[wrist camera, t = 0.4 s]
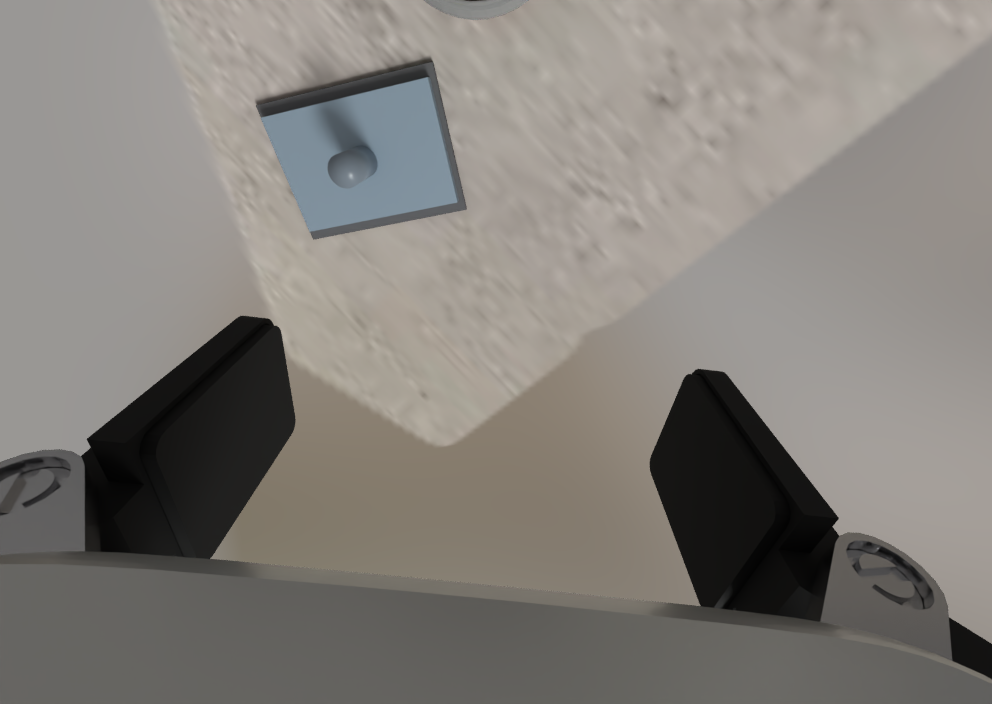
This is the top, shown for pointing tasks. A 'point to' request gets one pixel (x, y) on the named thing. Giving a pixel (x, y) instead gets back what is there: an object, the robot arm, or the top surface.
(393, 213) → the lid
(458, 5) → the food container
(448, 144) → the mat
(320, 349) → the top surface
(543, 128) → the top surface
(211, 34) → the top surface
